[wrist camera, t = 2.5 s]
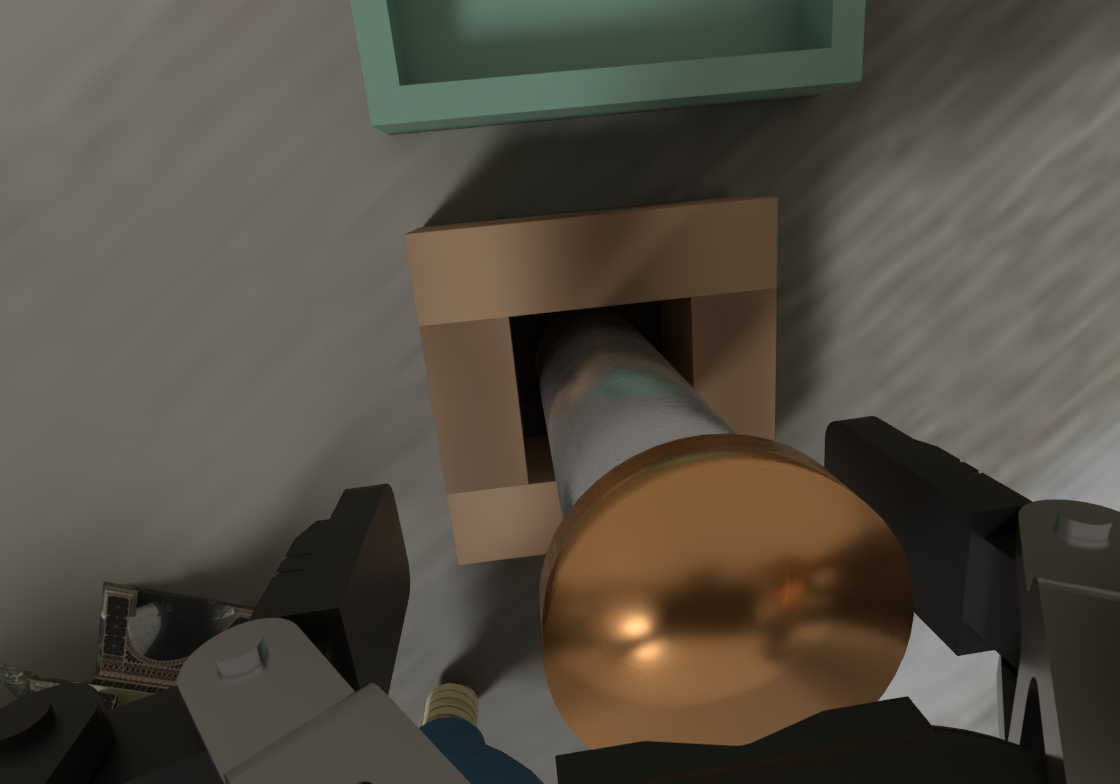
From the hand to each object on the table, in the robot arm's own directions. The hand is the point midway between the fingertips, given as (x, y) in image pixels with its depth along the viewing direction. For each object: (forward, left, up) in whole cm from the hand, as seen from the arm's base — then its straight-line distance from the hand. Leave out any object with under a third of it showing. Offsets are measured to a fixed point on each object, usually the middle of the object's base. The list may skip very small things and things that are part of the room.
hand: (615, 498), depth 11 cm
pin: (-1, 0, -9) cm, 9 cm away
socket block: (-1, 0, -9) cm, 9 cm away
